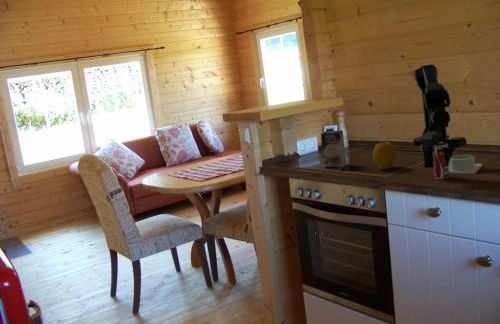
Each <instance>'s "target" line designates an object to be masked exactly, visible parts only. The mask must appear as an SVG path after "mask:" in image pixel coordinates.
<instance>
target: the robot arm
mask: <svg viewBox="0 0 500 324" xmlns="http://www.w3.org/2000/svg"><path fill="white" fill-rule="evenodd" d="M413 77H414V82H416V86H417V88H418V89H419V90H420V91H421V98H422V108H423V120H424V128H423V131H422V133H421V135H419V136H416V137H414V138H413V141H412V143H413V144H412V145H413V146H414V147H420V151H421V153H423V160H424V163H423V166H422V167H423V168H424V167H426V168H428V167H429V168H430V167H432V168H434V165H433V152H432V150H433V146H436V145H445V146H446V147H444V148H442V149H443V151H444V155H445V162H446V165H448V164H449V161H450V159H451V156H453V154H454V152H455V151H456V150H455V149H457V148H461V147H465V146H467V145H468V144H467V139H466V137H463V136H455V137H452V138H450V135H449V134H448V132H447V131H448V130H447V128H449V123H450V122H451V115H450V114H449V112H448V111H447V110H446V108H447V107H448V108H449V107H450V104H451V99H450V95H449V94H450V93H449V92H448V90H447V89H445V87H444V84H441V83H439V81H438V77H439V76H438V68H437V66H435V65H434V64H424V65H421V66H420V67H419V68H417V69H415V70H414V72H413Z"/></svg>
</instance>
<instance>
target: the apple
mask: <svg viewBox="0 0 500 324" xmlns="http://www.w3.org/2000/svg"><path fill="white" fill-rule="evenodd" d="M372 159H373V162H374V163H375V165H376V166H377V167H378V168H379V169H380V170H388V169H391V168H392V167H393V165H394V163H395V162H396V159H397V151H396V148H395V146H394V145H393V144H392V143H391V142H390V141H382V142H379V143H377V144H375V146H374V148H373V151H372Z"/></svg>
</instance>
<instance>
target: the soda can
mask: <svg viewBox="0 0 500 324" xmlns="http://www.w3.org/2000/svg"><path fill="white" fill-rule="evenodd" d="M444 147H446V146H445V145H436V146H433V150H432V152H433V165H434V167H433V176H434V179H436V180H446V179H449V178H450V174H449V164H448V165H446V162H445V155H444V151H443V149H442V148H444Z"/></svg>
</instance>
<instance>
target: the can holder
mask: <svg viewBox="0 0 500 324" xmlns="http://www.w3.org/2000/svg"><path fill="white" fill-rule="evenodd" d="M475 160H476V159H475V155H473V154H455V155H452V156H451V159H450V161H449V175H475V174H476V173H478V171H479V170H480V169H481V168H482V167H483V163H476V161H475Z"/></svg>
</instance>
